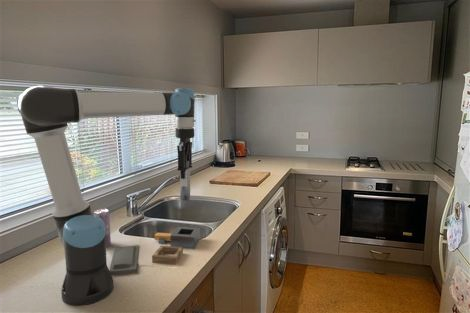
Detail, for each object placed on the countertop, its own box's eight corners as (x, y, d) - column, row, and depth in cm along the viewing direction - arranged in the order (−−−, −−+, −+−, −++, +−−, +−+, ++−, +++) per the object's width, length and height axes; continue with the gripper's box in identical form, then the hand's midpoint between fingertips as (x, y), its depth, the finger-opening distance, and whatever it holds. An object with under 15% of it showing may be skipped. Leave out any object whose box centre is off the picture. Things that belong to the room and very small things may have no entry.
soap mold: (140, 249, 135) (140, 241, 135) (137, 274, 116) (137, 265, 115) (114, 251, 133) (113, 243, 132) (107, 277, 114) (106, 268, 113)
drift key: (170, 240, 138) (170, 236, 137) (154, 239, 139) (154, 235, 138) (172, 238, 141) (172, 233, 140) (157, 236, 142) (157, 232, 141)
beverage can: (106, 240, 141) (104, 207, 139) (113, 244, 138) (112, 210, 135) (92, 245, 137) (90, 211, 134) (100, 249, 133) (98, 214, 131)
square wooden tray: (175, 266, 120) (175, 258, 120) (152, 264, 122) (152, 256, 121) (182, 255, 129) (182, 247, 129) (160, 253, 130) (160, 245, 130)
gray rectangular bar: (188, 200, 133) (188, 162, 130) (179, 200, 134) (178, 161, 131) (191, 197, 137) (191, 160, 134) (182, 197, 137) (181, 159, 135)
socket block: (194, 251, 133) (194, 237, 132) (156, 248, 135) (156, 234, 134) (200, 241, 143) (200, 228, 142) (165, 238, 145) (164, 225, 144)
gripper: (188, 129, 121) (188, 190, 125) (199, 126, 138) (199, 180, 142) (168, 129, 122) (169, 189, 126) (182, 126, 139) (182, 179, 143)
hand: (185, 184), depth 134 cm, fingers closed on gray rectangular bar, 4 cm apart
